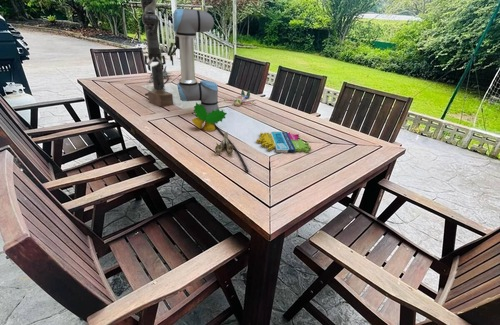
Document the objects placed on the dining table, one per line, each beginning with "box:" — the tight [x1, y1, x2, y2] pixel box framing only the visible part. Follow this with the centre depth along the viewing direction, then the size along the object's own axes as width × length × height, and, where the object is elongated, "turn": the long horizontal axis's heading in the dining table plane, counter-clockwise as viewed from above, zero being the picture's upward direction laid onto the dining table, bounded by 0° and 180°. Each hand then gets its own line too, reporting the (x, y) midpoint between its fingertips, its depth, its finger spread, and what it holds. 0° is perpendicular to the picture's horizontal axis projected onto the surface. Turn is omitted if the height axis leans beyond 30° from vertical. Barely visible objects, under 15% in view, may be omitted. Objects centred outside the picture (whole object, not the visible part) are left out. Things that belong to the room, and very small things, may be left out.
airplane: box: [147, 65, 175, 83], centre depth 272 cm, size 38×32×10 cm
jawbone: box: [214, 131, 234, 156], centre depth 136 cm, size 9×15×10 cm
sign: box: [256, 131, 312, 154], centre depth 152 cm, size 26×2×30 cm
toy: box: [223, 89, 257, 106], centre depth 219 cm, size 28×7×30 cm
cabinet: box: [147, 89, 174, 108], centre depth 201 cm, size 16×10×8 cm, turn 50°
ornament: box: [191, 101, 228, 132], centre depth 162 cm, size 21×8×15 cm, turn 105°
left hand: (156, 70), depth 192 cm, fingers open, 8 cm apart
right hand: (181, 65), depth 209 cm, fingers open, 13 cm apart
